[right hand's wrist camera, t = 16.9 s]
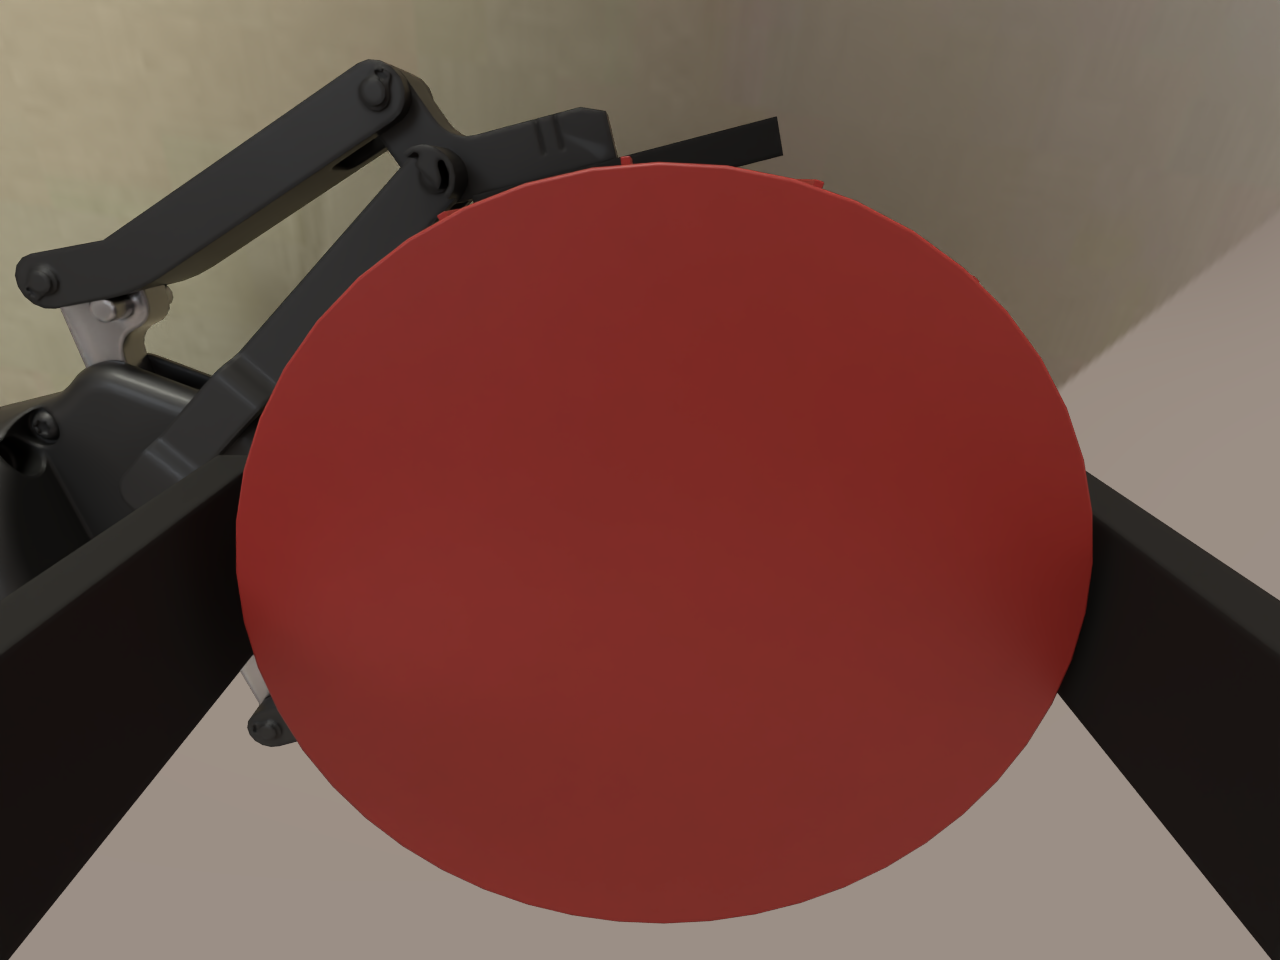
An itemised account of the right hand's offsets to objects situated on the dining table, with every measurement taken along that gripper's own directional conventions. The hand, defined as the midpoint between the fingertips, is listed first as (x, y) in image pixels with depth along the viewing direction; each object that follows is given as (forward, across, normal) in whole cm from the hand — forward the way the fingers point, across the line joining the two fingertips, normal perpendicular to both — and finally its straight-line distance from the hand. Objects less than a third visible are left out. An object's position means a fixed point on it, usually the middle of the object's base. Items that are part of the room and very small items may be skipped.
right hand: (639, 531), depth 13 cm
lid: (-3, 0, 0) cm, 3 cm away
